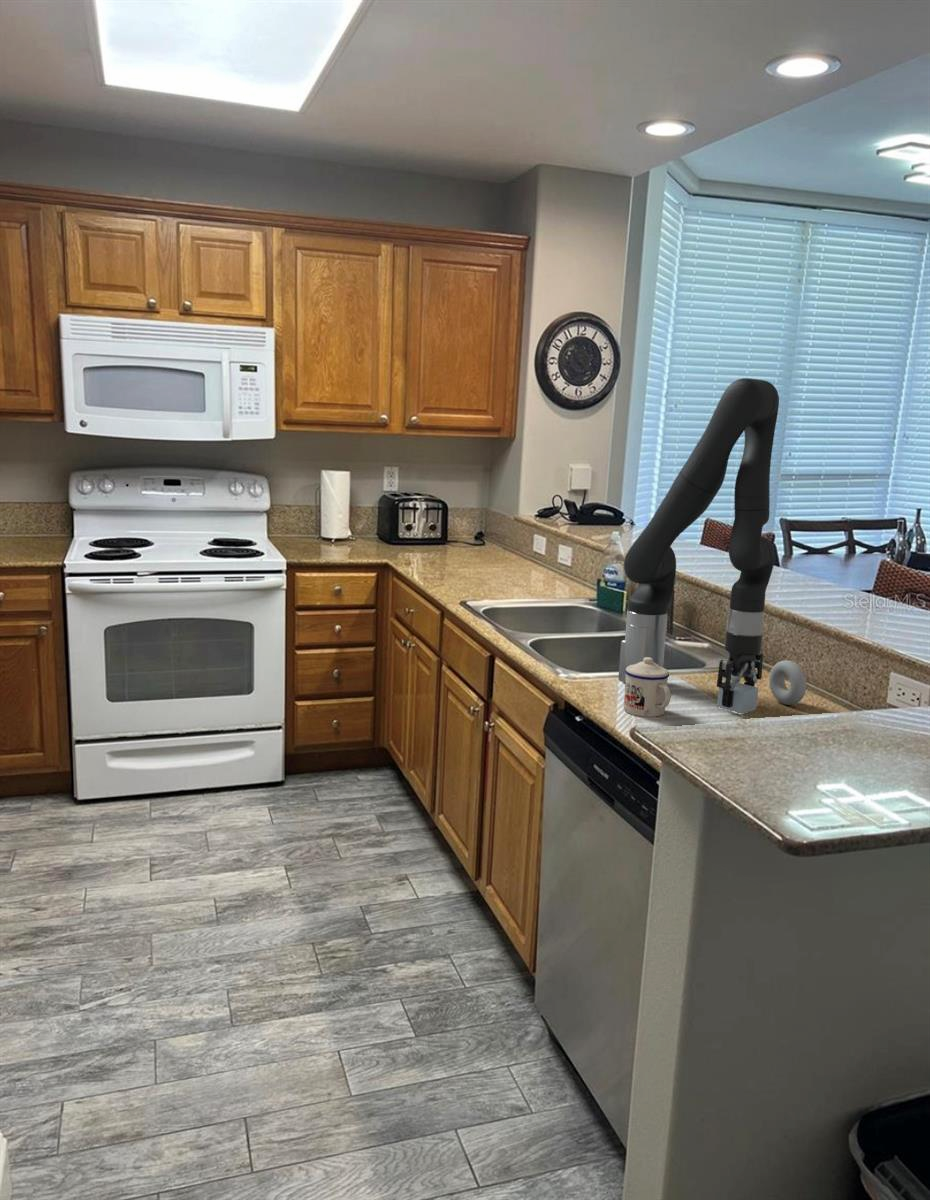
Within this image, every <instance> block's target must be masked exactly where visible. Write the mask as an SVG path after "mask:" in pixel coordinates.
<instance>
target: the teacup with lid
mask: <svg viewBox="0 0 930 1200" xmlns="http://www.w3.org/2000/svg"><path fill="white" fill-rule="evenodd" d="M625 673H626V682H625V683H624V684H625V685H624V695H623V696H624V698H623V710H624V711H625V712H626V713H628V714H629V713H630V714H629V715H632V716H636V717H640V718H641V717H642V718H656V716H658V717H661V716H663V715H664V714H665V712H666V707H668V706H669V704H670V702H671V699H672V693H671V689H670V688H669V687H668V679H669V677H670V674H669V670H668V669H666V668H664V666H663V667H660V666H659V665H657V664H656V663H653V659H652V658H649V657H645V658H644V659H643V662H639V663H637V664H634V665H630V666H628V667H627V668H626V670H625Z"/></svg>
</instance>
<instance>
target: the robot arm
mask: <svg viewBox="0 0 930 1200" xmlns="http://www.w3.org/2000/svg"><path fill="white" fill-rule="evenodd" d="M779 406H780V396H779V391H778V390H777V387H775V385H774V384H772V383H771V382H770V381H768V380H764V379H759V378H758V379H757V378H750V377H748V378H747V377H745V378H744V377H743V378H738V379H736V380H735V381H732V382H731V383H730V384H729V385H728V386H727V387H726V389H724V392H723V394H722V395H721V397H720V399H719V401H718V403H717V406H716V407H715V410H714V411H713V414H712V416H711V418H710V420H709V422H708V425H707V426H706V429H705V430H704V432H703V434H702V436H701V437H700V439H699V440H698V442H697V443H696V445H695V447H694V449H693V450H692V452H691V453H690V455H689V457H688V458H687V460H686V462H685V463H684V465H682V468H681V469H680V471H679V472H678V474H677V476H676V478H675V479H674V480H673V482H672V484H671V486H670V488H669V490H668V492H667V493H666V494H665V497H664V498H663V499H662V501H661V503H660V504H659V506H658V508H657V510H656V511H655V513H654V515H653V517H652V518H651V519H650V521H649V522H648V523H647V525H646V526H645V527H644V528H643V530H642V532H641V533H640V535H639V536H638V537H637V538H636V539H635V541H634V542H633V543H632V545H631V547H630V548H629V549H628V551H627V552H626V555H625V557H624V561H623V570H624V574H625V576H626V577H627V579H628V580H629V581H631V582H633V583H635V584H638V586H637V589H636V590H635V591H634V593H633V594H632V595H631V596H629V598H628V600H627V607H626V609H627V611H626V621H625V624H626V625H625V635H624V636H625V638H624V639H623V640H621V642H620V655H619V665H618V677H617V678H618V681H621V682H622V683H623V684H625V682H626V673H625V670H626V668H627V667H628V666H630V665H634V664H637V663H639V662H643V659H644V658H645V657H649V658H652V659H653V663H656V664H657V665H659V666H660V667H663V668H664V660H665V647H666V646H665V645H666V635H667V623H668V622H667V621H668V610H669V606H670V604H671V602H672V599H673V596H674V595H673V594H674V589H675V581H676V573H677V558H676V554H675V552H674V550H673V548H672V547H671V546H672V544H673V543H674V542H675V541H676V539H677V538H679V536H680V535H681V534H682V533H683V532H685V530H686V529H688V527H689V528H690V526H691V525H692V524H693V523H694V522H695V521H697V520H698V519H699V518H700V517H701V516H702V515H703V514H704V513H705V512H706V510H707V509H708V507H709V506H710V505H711V503H712V502H713V500H714V499H715V497H716V495H717V494H718V493H719V491H720V489H721V488H722V486H723V483H724V480H725V477H726V473H727V468H728V462H729V458H730V456H731V452H732V450H733V449H734V447H735V445H736V443H737V442H738V440H739V439H740V437H741V436H742V435H743V433H744V445H743V446H744V447H743V452H742V453H743V454H742V457H741V461H740V464H739V467H738V471H737V474H736V479H735V485H734V501H733V502H734V505H733V506H734V521H733V524H732V528H731V532H730V537H729V544H728V556H729V559H730V563H731V565H732V566H733V567H734V568H735V569H736V570H738V571H739V572H740V573H739V574H740V575H739V578H738V580H737V581H735V582H734V583H733V585H732V587H731V590H730V591H731V592H730V599H729V601H730V602H729V610H728V614H727V620H726V629H725V641H724V650H725V651H726V652H727V653H728V654H729V656H728V659H727V660H724V659H720V660H719V664H718V673H717V681H716V687H717V688H718V689H719V688H722V689H723V695H722V706H725V707H728V708H730V707H732V706H733V696H734V691H733V690H734V688H735V686H736V683H741V682H740V681H741V680H742V678H743V680H744V682H743V684H746V685H750V686H753V687H756V686H755V684H757V682H758V680H761V679H762V676H763V660H764V653H763V652H762V645H763V637H764V636H763V633H764V626H765V625H764V623H765V617H764V615H765V613H764V611H765V603H766V590H767V588H768V585H769V582H770V580H771V576H772V572H773V569H774V566H775V557H776V555H775V554H776V553H775V548H774V545H773V544H772V542H771V541H770V539H768V538H766V537H763V536H762V533H763V532H762V531H763V527H764V526H765V525H767V523H768V522H769V519H770V512H771V511H770V510H771V509H770V506H771V505H770V502H771V501H770V500H771V499H770V496H771V494H770V491H771V490H770V484H771V483H770V479H771V464H772V454H773V448H774V447H773V446H774V439H775V431H776V426H777V420H778V413H779ZM730 682H732V683H731V685H730Z"/></svg>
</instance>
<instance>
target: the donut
mask: <svg viewBox="0 0 930 1200" xmlns="http://www.w3.org/2000/svg"><path fill="white" fill-rule="evenodd" d="M786 676H787V678H788V679H789V682H790V684H789V685H790V686H789V688H788V687H787V686H786ZM768 683H769V689H770V691H771V693H772V695H773V697H774V698H775V699H776V701H778V702H779V703H781V704H783V705H787V706H792V705H793V706H794V705H797V704H799V702H801V701H802V700H803V699H804V697H805V695H806V692H807V688H808V687H807V678H806V674H805V672H804V671H803V669H802V667H801V666H799V664H798V663H796V662H794V661H793V660H788V659H787V660H786V659H784V660H781V661H778V662H776V663H775V664H774V665H773V666H772V668H771V670H770V673H769V678H768Z"/></svg>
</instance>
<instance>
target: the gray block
mask: <svg viewBox="0 0 930 1200" xmlns="http://www.w3.org/2000/svg"><path fill="white" fill-rule="evenodd" d="M731 683H732V681H731V682H730V685H731ZM733 691H734V696H733V706H732V707H730V708H728V707H725V706H722V695H723V689H722V688H719V687H718V691H717V692H718V693H717V700H716V701H717V704H716V708H717V707H720V708H723V709H722V710H724V709H727V710H730V711H729V712H731V711H735V712H737V713H736V714H738V713H741V714H742V713H745V714H747V713H750V712H753V711H756V710H757V703H758V693H759V687H757V686H755V687H753V686H750V685H746V684H744V683H741V682H738V683H736V686H735V688H734V690H733ZM720 708H719V709H720ZM755 709H756V710H755ZM727 710H726V711H727ZM752 710H753V711H752ZM749 711H750V712H749ZM741 714H740V715H741ZM742 715H743V714H742Z"/></svg>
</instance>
